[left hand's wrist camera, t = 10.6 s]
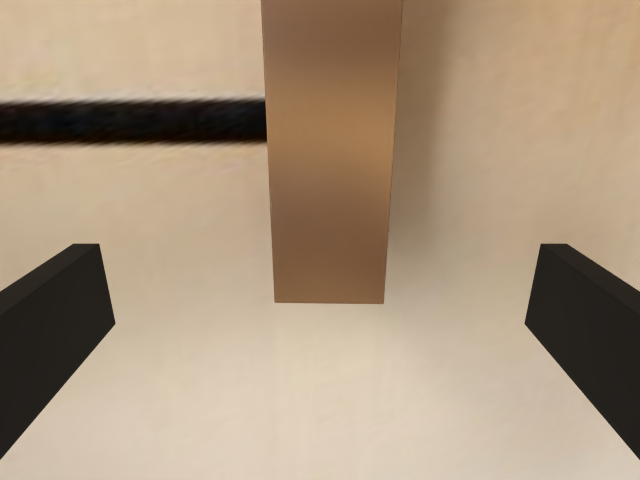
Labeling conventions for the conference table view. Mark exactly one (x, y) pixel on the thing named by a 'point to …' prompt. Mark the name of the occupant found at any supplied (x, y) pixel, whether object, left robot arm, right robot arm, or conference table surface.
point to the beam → (330, 145)
